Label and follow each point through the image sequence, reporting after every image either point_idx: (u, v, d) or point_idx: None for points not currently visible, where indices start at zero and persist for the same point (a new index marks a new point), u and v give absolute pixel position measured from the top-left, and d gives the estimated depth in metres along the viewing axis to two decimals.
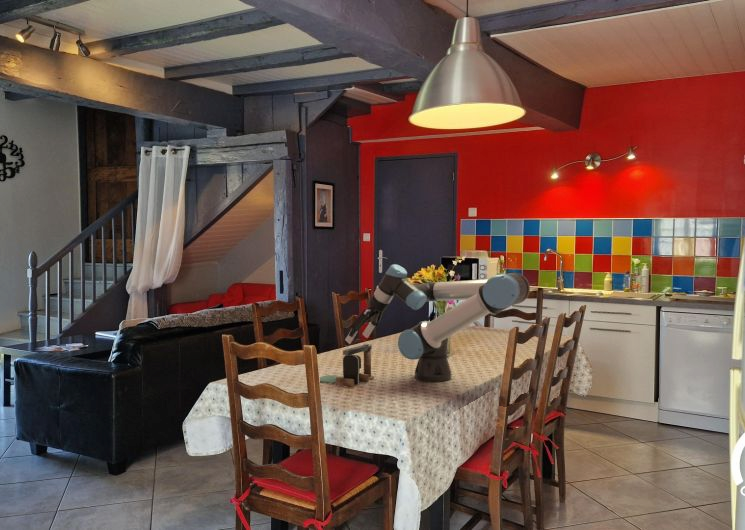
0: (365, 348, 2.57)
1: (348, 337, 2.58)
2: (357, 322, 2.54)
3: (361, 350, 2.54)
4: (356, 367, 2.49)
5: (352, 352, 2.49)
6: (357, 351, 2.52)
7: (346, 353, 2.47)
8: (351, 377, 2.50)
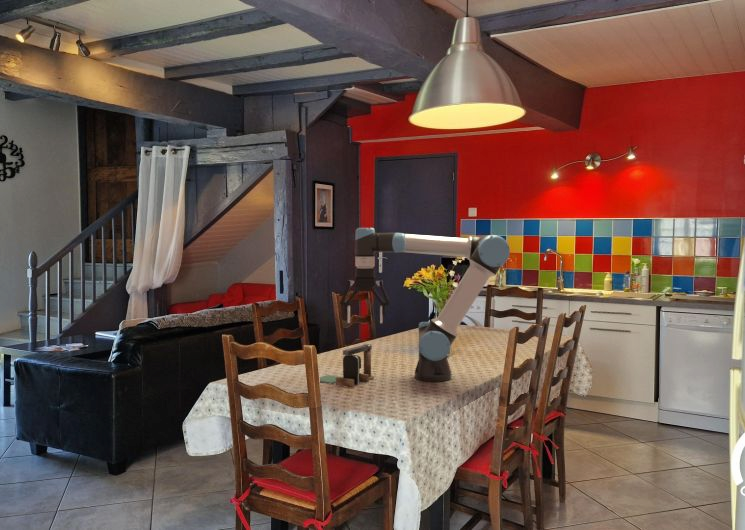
0: (365, 348, 2.57)
1: (382, 318, 2.48)
2: (386, 295, 2.48)
3: (361, 350, 2.54)
4: (356, 367, 2.49)
5: (352, 352, 2.49)
6: (357, 351, 2.52)
7: (346, 353, 2.47)
8: (351, 377, 2.50)
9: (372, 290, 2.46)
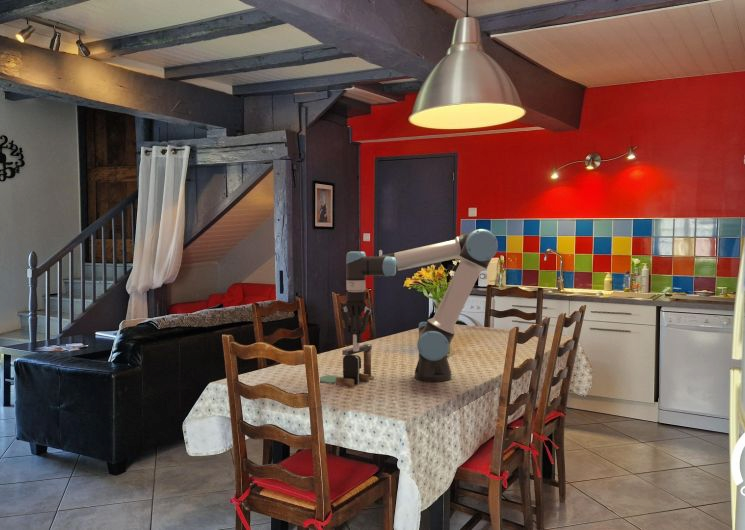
0: (365, 348, 2.57)
1: (357, 346, 2.49)
2: (366, 325, 2.48)
3: (361, 350, 2.54)
4: (356, 367, 2.49)
5: (351, 352, 2.49)
6: (357, 351, 2.52)
7: (345, 353, 2.48)
8: (351, 377, 2.50)
9: (356, 315, 2.47)
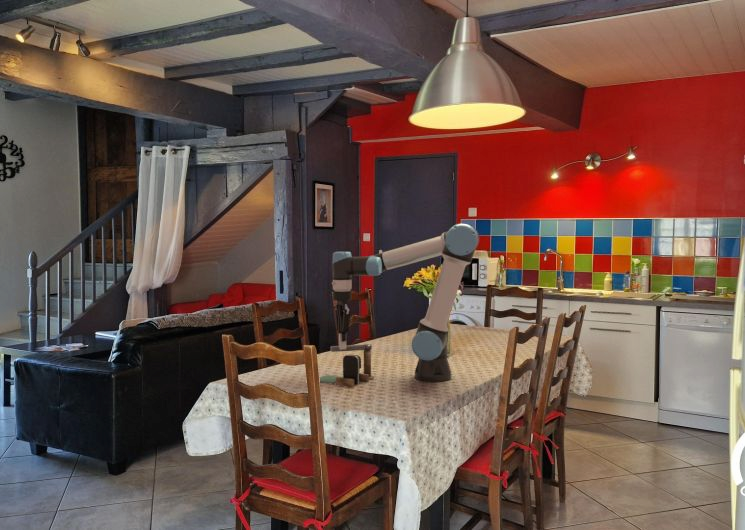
0: (360, 347, 2.58)
1: (341, 344, 2.54)
2: (346, 324, 2.51)
3: (353, 349, 2.57)
4: (356, 367, 2.49)
5: (338, 349, 2.56)
6: (347, 349, 2.57)
7: (331, 349, 2.56)
8: (351, 377, 2.50)
9: (339, 314, 2.53)
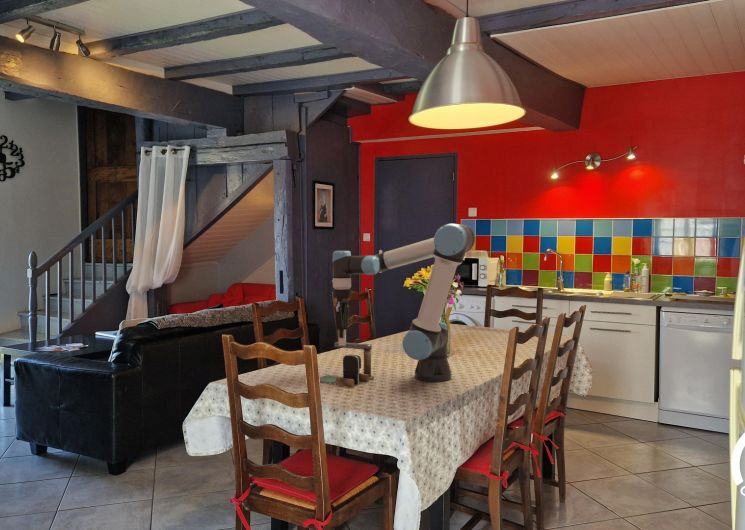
0: (359, 346, 2.60)
1: (340, 340, 2.62)
2: (338, 321, 2.58)
3: (353, 347, 2.62)
4: (356, 367, 2.49)
5: None
6: (347, 346, 2.63)
7: None
8: (351, 377, 2.50)
9: None
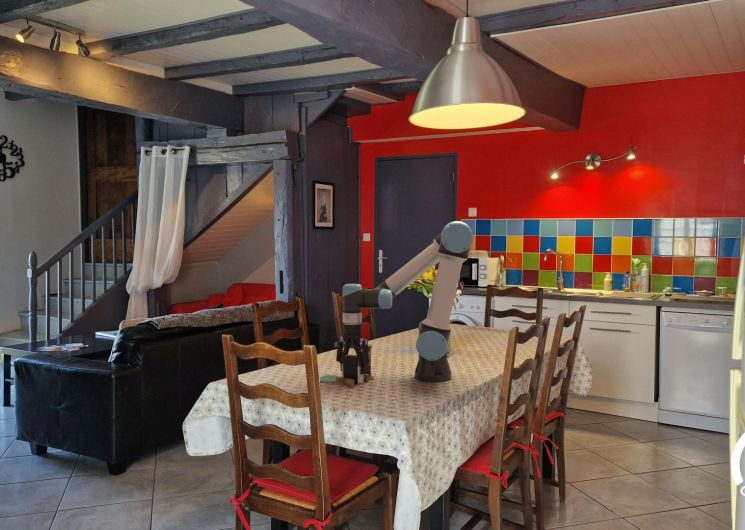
0: None
1: (360, 377, 2.49)
2: (366, 355, 2.48)
3: None
4: (356, 367, 2.49)
5: None
6: None
7: None
8: (351, 377, 2.50)
9: (354, 347, 2.49)
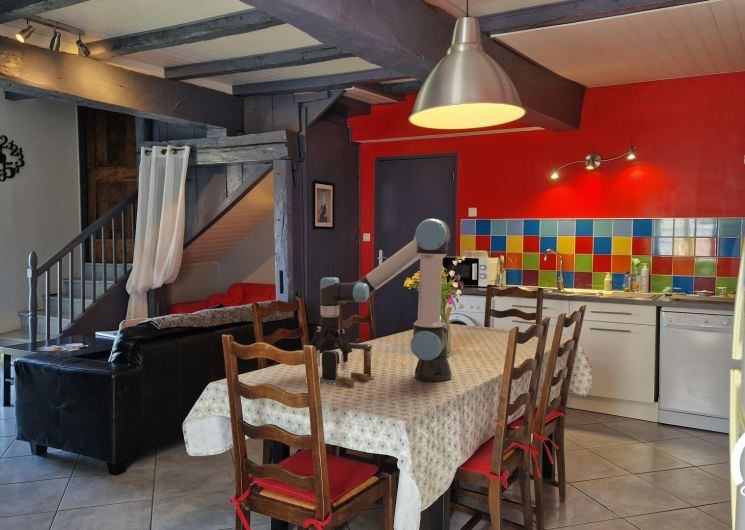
0: (359, 346, 2.60)
1: (343, 365, 2.53)
2: (347, 344, 2.52)
3: (353, 347, 2.62)
4: (334, 362, 2.54)
5: None
6: None
7: None
8: (329, 372, 2.56)
9: (333, 338, 2.54)
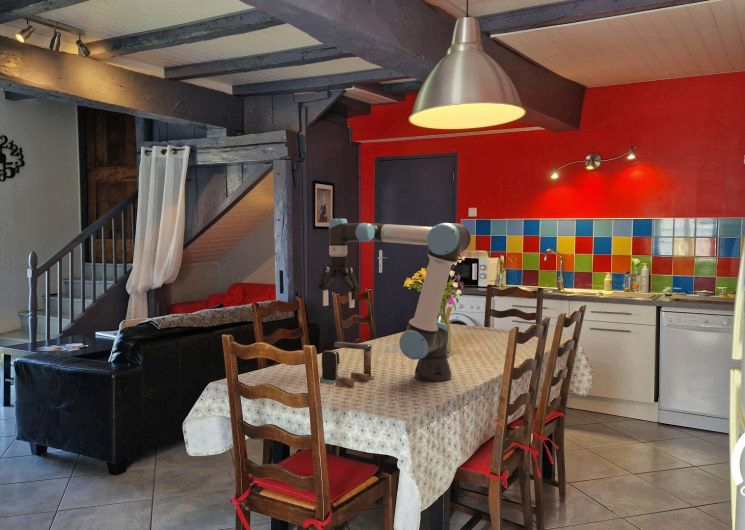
0: (359, 346, 2.60)
1: (351, 303, 2.62)
2: (355, 282, 2.61)
3: (353, 347, 2.62)
4: (334, 362, 2.54)
5: (340, 345, 2.65)
6: (347, 346, 2.63)
7: None
8: (329, 372, 2.56)
9: (342, 277, 2.63)
